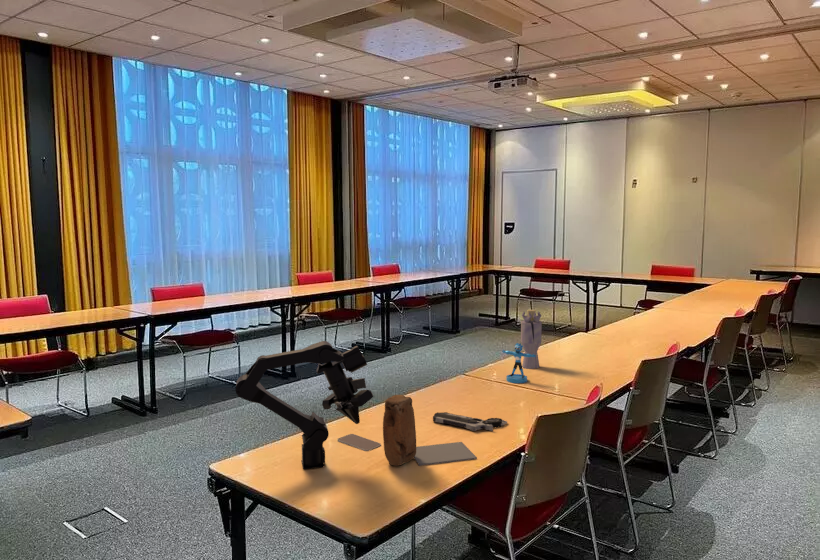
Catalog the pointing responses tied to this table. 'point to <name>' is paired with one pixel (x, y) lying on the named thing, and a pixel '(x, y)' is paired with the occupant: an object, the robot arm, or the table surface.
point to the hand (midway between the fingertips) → (358, 423)
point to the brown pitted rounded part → (399, 430)
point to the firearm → (468, 421)
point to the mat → (442, 453)
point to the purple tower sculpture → (531, 338)
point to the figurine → (517, 377)
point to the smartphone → (359, 442)
